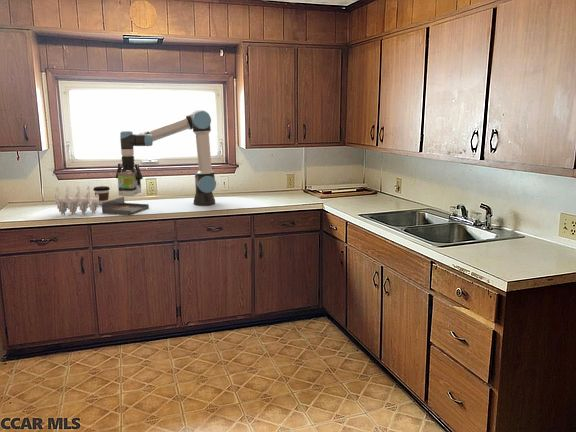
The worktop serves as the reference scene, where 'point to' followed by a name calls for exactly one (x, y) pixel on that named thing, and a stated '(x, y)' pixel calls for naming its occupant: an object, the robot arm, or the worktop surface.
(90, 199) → the grey translucent row part
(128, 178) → the tea box
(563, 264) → the worktop surface
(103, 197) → the coffee cup
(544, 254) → the worktop surface
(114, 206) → the tray
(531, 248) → the worktop surface
